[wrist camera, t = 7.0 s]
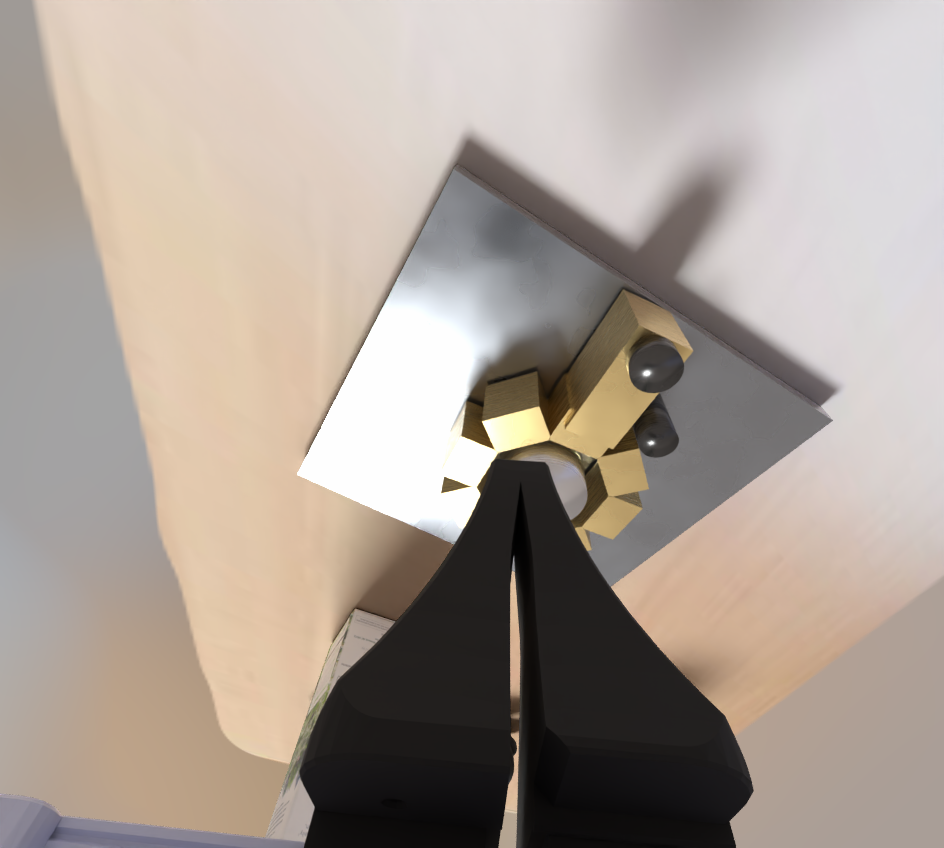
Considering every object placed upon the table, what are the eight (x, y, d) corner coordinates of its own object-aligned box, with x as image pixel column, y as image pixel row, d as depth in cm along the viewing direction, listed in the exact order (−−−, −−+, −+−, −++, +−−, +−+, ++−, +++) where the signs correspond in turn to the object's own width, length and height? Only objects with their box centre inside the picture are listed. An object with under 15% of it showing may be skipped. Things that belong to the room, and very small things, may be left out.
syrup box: (402, 667, 37) (348, 944, 26) (327, 643, 36) (235, 922, 24) (432, 631, 34) (387, 929, 22) (351, 603, 33) (258, 904, 21)
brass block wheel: (572, 535, 25) (579, 600, 22) (424, 480, 24) (409, 542, 21) (739, 345, 19) (782, 401, 16) (546, 251, 17) (551, 293, 14)
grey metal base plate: (821, 406, 21) (874, 468, 18) (585, 589, 30) (593, 653, 27) (456, 163, 17) (442, 188, 14) (304, 461, 25) (273, 519, 22)
